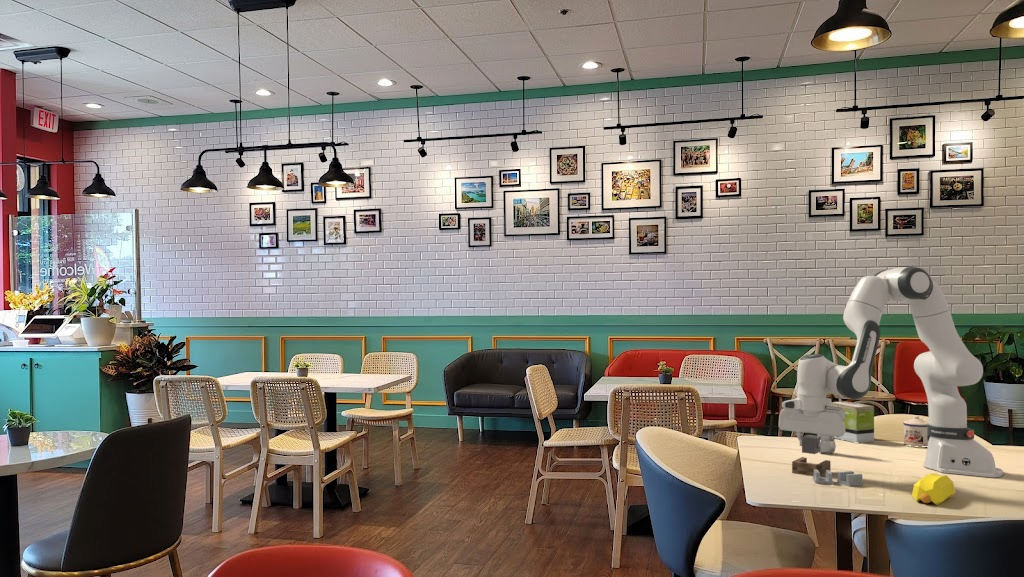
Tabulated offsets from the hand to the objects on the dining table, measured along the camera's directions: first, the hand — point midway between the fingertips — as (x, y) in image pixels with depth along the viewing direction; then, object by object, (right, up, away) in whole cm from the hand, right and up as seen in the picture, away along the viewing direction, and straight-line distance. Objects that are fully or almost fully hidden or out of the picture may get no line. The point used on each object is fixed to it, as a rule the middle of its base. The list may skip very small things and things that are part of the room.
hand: (811, 447), depth 237 cm
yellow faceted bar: (+20, -8, -34) cm, 40 cm away
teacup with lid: (+62, -10, +48) cm, 79 cm away
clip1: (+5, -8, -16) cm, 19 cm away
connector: (+1, -2, +1) cm, 2 cm away
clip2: (-2, -8, -14) cm, 16 cm away
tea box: (+42, -11, +62) cm, 75 cm away
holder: (0, -8, -1) cm, 8 cm away
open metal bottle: (+18, -9, +32) cm, 38 cm away
